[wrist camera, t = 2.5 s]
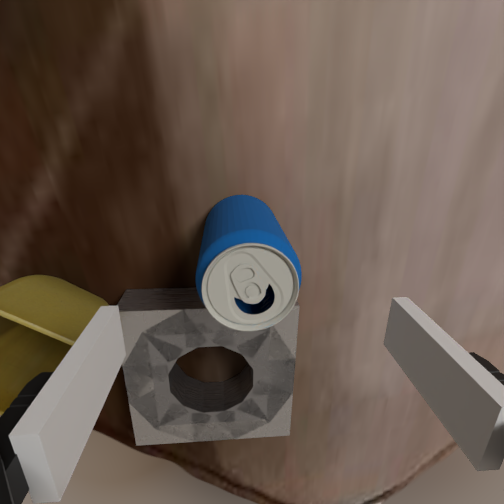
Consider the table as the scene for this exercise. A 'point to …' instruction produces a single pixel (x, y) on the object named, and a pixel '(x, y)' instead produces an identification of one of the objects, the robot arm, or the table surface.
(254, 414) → the jig
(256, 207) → the beverage can
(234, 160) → the table surface
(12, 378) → the flower pot
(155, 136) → the table surface
